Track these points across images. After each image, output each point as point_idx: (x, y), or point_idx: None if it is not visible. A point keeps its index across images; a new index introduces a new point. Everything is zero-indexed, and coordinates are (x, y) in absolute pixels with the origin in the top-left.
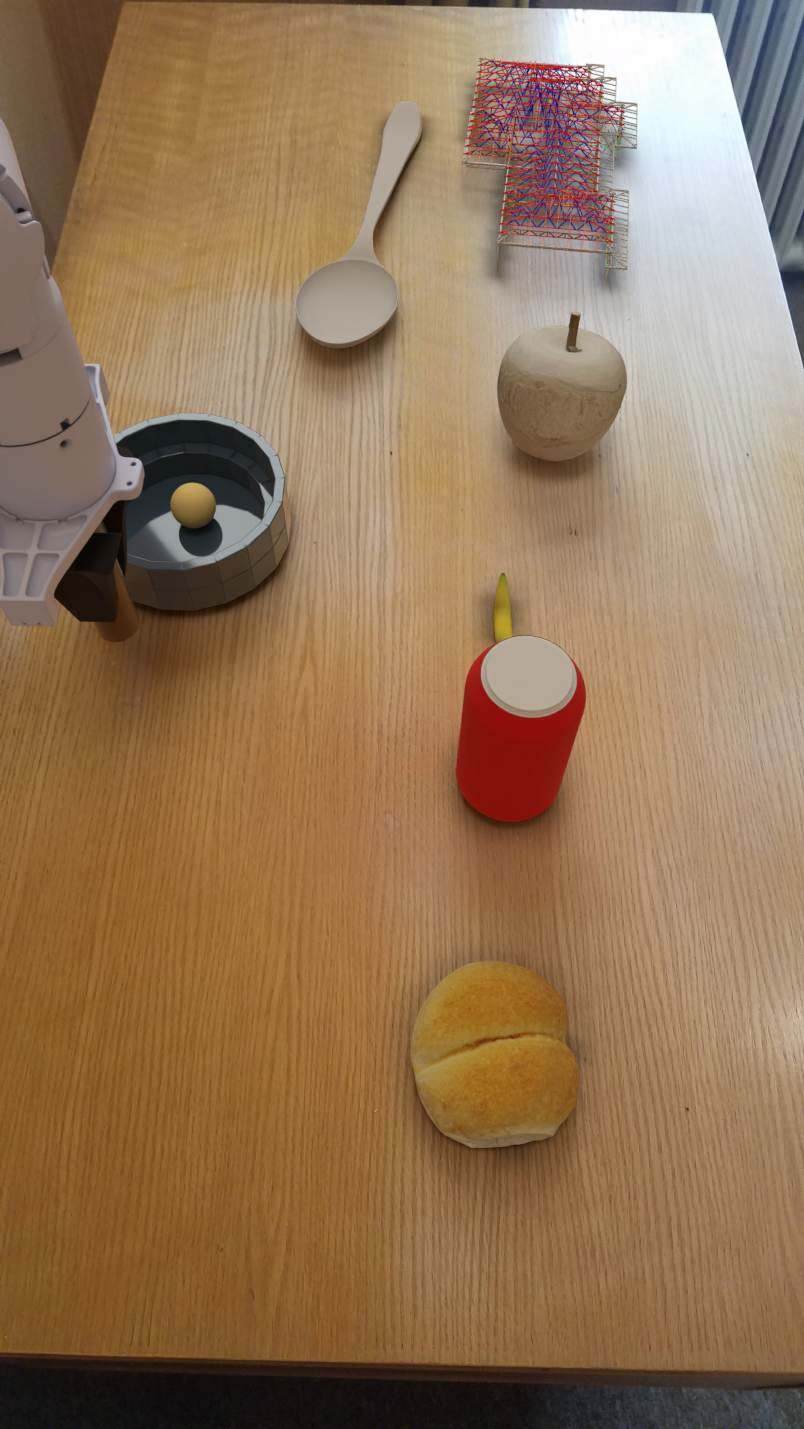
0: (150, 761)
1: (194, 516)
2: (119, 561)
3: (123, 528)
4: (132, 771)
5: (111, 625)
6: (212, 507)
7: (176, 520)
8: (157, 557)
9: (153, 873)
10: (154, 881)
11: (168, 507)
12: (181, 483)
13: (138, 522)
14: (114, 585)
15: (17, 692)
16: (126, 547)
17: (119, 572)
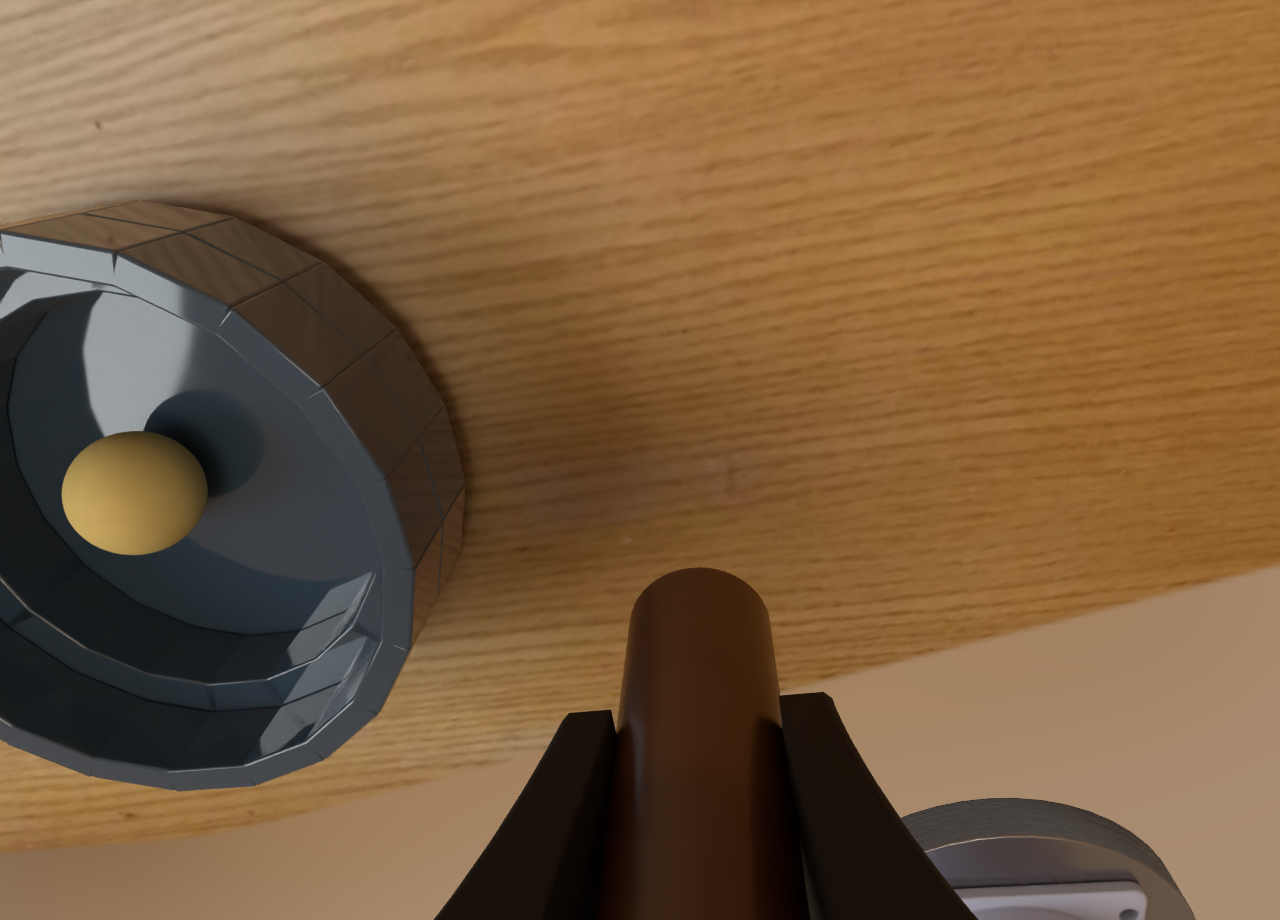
0: (882, 392)
1: (172, 483)
2: (599, 783)
3: (517, 908)
4: (912, 425)
5: (775, 671)
6: (120, 444)
7: None
8: (319, 528)
9: (1198, 303)
10: (1221, 294)
11: None
12: None
13: (238, 593)
14: (837, 838)
15: None
16: (537, 789)
17: (691, 794)
